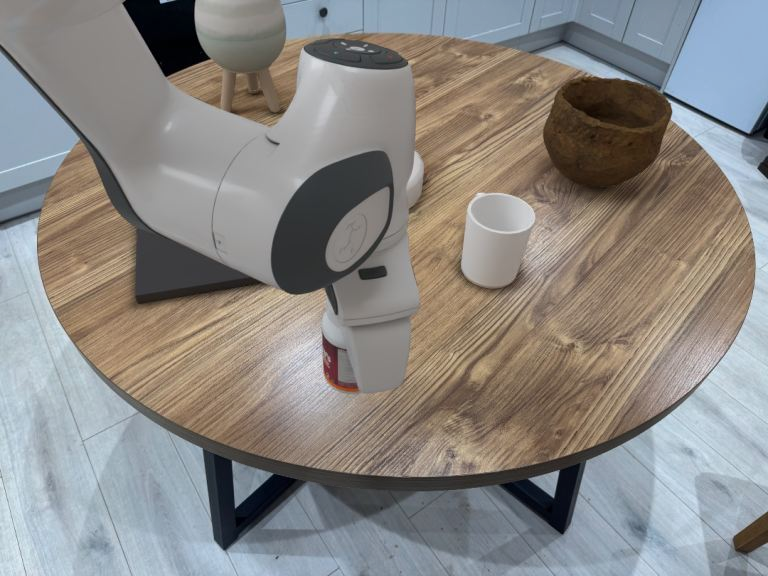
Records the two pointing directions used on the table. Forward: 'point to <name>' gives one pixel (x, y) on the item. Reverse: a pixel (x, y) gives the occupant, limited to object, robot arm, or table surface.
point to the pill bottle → (336, 355)
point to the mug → (495, 238)
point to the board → (179, 270)
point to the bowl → (605, 130)
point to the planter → (242, 42)
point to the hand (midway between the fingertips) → (352, 344)
